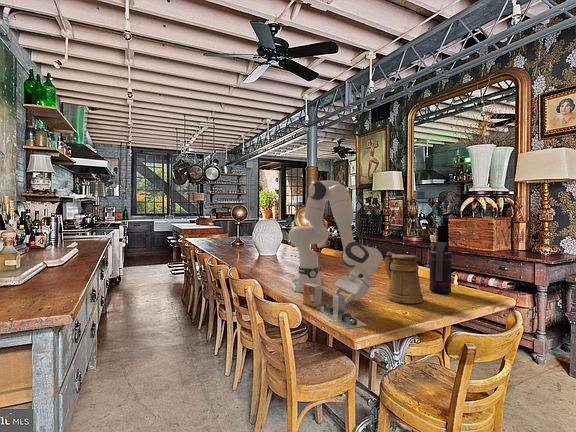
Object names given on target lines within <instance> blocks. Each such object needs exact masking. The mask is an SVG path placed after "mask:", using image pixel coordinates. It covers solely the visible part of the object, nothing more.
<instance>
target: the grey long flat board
mask: <svg viewBox="0 0 576 432" xmlns="http://www.w3.org/2000/svg"><path fill="white" fill-rule="evenodd" d="M315 309H317V310H318V311H320V312H321V313H323V314H324V315H325V316H327V317H329V319H331V320H333V321H334V322H336V323H337V324H338V325H340V326H342V327H343V328H345V329H346V330H349V329H357V328H362V327H368V325H367V324H366V323H364V322H363V321H361V320H359V319H358V318H356V317H354V316H352V313H351V312H347V311H346V312H344V313H341V314H339V318H338V317H336V316H335V315H333V304H331V303H328V304H323V306H322V305H320V306H316V307H315Z"/></svg>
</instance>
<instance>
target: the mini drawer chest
mask: <svg viewBox="0 0 576 432" xmlns="http://www.w3.org/2000/svg"><path fill="white" fill-rule="evenodd" d="M345 298H347V297H346V296H344V295H342V294H340V293H339V295H334V294H332V305H333V315H335V316H336V317H338V318H339V314H341V313H344V312H347V303H345V302H344V299H345Z"/></svg>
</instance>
